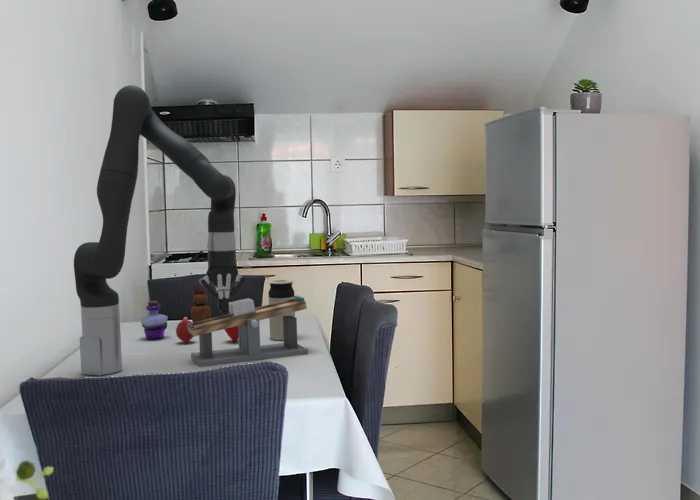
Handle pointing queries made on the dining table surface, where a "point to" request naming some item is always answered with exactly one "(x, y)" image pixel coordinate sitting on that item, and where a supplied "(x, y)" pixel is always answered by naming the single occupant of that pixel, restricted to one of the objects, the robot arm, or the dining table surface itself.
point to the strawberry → (232, 333)
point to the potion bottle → (154, 322)
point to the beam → (246, 316)
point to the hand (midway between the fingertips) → (223, 311)
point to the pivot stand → (250, 345)
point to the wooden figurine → (200, 306)
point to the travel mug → (277, 293)
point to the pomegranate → (184, 331)
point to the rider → (241, 308)
